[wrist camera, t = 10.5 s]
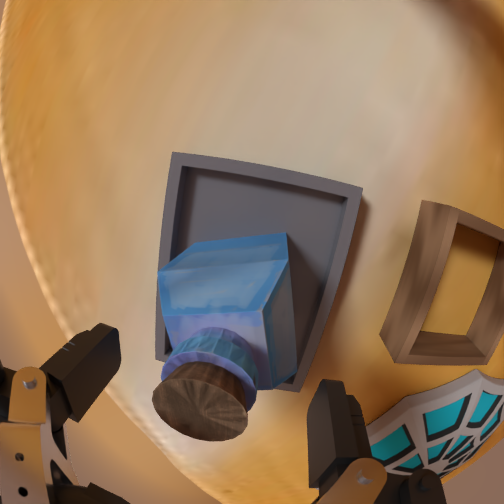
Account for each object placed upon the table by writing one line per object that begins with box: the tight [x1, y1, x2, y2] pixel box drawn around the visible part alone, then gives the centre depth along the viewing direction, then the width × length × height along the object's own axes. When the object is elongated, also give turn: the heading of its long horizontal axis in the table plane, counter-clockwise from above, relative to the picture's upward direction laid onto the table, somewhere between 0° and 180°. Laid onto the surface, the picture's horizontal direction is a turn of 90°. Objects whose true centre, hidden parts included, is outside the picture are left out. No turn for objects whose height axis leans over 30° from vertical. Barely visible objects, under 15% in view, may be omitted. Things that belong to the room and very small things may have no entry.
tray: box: [155, 152, 363, 392], centre depth 19 cm, size 16×12×2 cm
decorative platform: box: [316, 369, 504, 490], centre depth 22 cm, size 31×29×5 cm
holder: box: [379, 200, 504, 365], centre depth 16 cm, size 11×11×4 cm
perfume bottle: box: [152, 233, 297, 441], centre depth 13 cm, size 6×6×12 cm
